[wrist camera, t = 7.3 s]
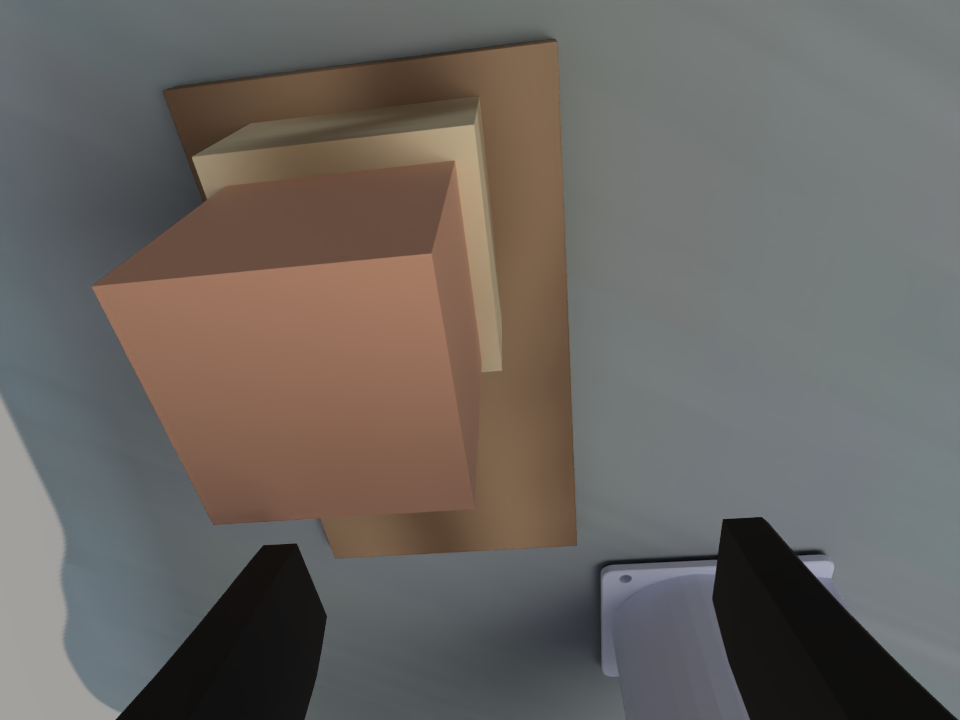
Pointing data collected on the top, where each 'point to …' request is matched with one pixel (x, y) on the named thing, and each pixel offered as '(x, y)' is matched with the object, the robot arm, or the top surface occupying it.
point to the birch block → (379, 145)
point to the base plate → (521, 270)
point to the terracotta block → (312, 345)
